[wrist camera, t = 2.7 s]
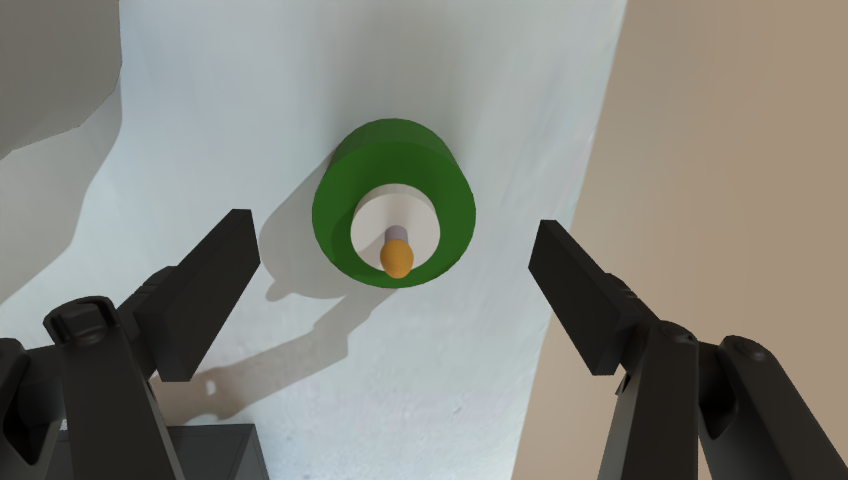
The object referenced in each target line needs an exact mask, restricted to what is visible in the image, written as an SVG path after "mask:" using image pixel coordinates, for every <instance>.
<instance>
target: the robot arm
mask: <svg viewBox="0 0 848 480" xmlns="http://www.w3.org/2000/svg"><path fill="white" fill-rule="evenodd" d="M260 263H261V262H260V256H259V251H258V245H257V240H256V234H255V229H254V224H253V218H252V213H251V210H249V209H232V210H231V211H230V212H229V213H228V214H227V215H226V216H225V217H224V218H223V219H222V220H221V221H220V222H219V223H218V224H217V225H216V226H215V227H214V228H213V229H212V230H211V231H210V232H209V233H208V235H207V236H206V237H205V238H204V239H203V240H202V241H201V242H200V243H199V244H198V245H197V246H196V247H195V248H194V249H193V250H192V251H191V252H190V253H189V254H188V255H187V256H186V257H185V258H184V259H183V260H182V261H181V262H180V263H179V264H178V265H177V266H167V267H165V268H163V269H162V270H160V271H158V272H156V273H154V274H153V275H152V276H151V277H149V278H148V279H147V280H146V281H145V282H144V283H143V286H140V287H139V288H138V289H137V290H136V291H135V293H134V294H132V295H131V296H130V297H129V298H128V299H127V300H126V301H124V302H123V303H122V304H121V305H120V306H119V307H118V308H117V309H115V307H114V305H113V303H112V301H111V300H110V299H109V298H108V297H104V296H88V297H83V298H79V299H75V300H73V301H70V302H67V303H65V304H62V305H61V306H59V307H57V308H55V309H54V310H52V311H51V312H50V313H49V314H48V315H47V316H46V317H45V318H44V321H43V325H44V327H45V328H46V330H47V332H48V333H49V335H50V337H51V338H52V340H53V341H54V343H55V345H50V346H45V347H40V348H35V349H29V350H25V349H24V347H23V346H22V344H21V343H20V342H19V341H18V340H16V339H14V338H0V480H45V477H46V473H47V470H48V467H49V463H50V460H51V457H52V453H53V450H54V447H55V443H56V440H57V436H58V433H59V430H60V426H61V423H62V420H63V419H66V420H67V428H68V435H69V443H70V451H71V459H72V467H73V475H74V480H185V478H184V475H183V472H182V469H181V467H180V464H179V461H178V458H177V456H176V453H175V450H174V447H173V445H172V442H171V439H170V436H169V434H168V431H167V428H166V425H165V423H164V420H163V417H162V414H161V412H160V409H159V406H158V403H157V401H156V398H155V395H154V392H153V390H152V387H151V385H150V383H149V378H150V377H151V376H152V374H153V373H154V371H155V370H156V369H157V371H158V373H159V375H160V378H161V380H162V382H188V381H190V379H191V378H192V376H193V374H194V373H195V371H196V369H197V368H198V366H199V364H200V363H201V361H202V359H203V358H204V356H205V354H206V353H207V351H208V349H209V348H210V346H211V344H212V343H213V341H214V339H215V338H216V336H217V334H218V333H219V331H220V330H221V328H222V326H223V325H224V323H225V321H226V320H227V318H228V316H229V315H230V313H231V311H232V310H233V308H234V306H235V305H236V303H237V301H238V300H239V298H240V296H241V295H242V293H243V291H244V290H245V288H246V286H247V285H248V283H249V281H250V280H251V278H252V276H253V275H254V273H255V271H256V270H257V268H258V267H259V265H260ZM528 269H529V271H530V272H531V274H532V276H533V277H534V279H535V280H536V282H537V284H538V285H539V287H540V289H541V290H542V292H543V294H544V295H545V297H546V299H547V300H548V302H549V304H550V305H551V307H552V309H553V310H554V312H555V314H556V315H557V317H558V319H559V320H560V322H561V324H562V325H563V327H564V329H565V330H566V332H567V334H568V335H569V337H570V339H571V340H572V342H573V344H574V345H575V347H576V349H577V350H578V352H579V353H580V355H581V357H582V358H583V360H584V362H585V363H586V365H587V367H588V368H589V370H590V372H591V373H592V375H594V376H597V375H614V373H615V371H616V369H617V367H618V365H619V363H621V365H622V366H623V368H624V369H625V370H626V374H625V376H624V378H623V379H622V381H621V383H620V385H619V387H618V389H617V391H616V393H615V394H616V395H618V399H617V404H616V407H615V412H614V416H613V419H612V423H611V427H610V431H609V435H608V439H607V443H606V447H605V451H604V455H603V459H602V463H601V467H600V470H599V474H598V479H597V480H698V435H699V439H700V442H701V445H702V448H703V451H704V454H705V458H706V461H707V464H708V467H709V471H710V474H711V477H712V480H848V468H847V466H846V465H845V463H844V462H843V460H842V459H841V457H840V455H839V454H838V453H837V451H836V449H835V448H834V446H833V445H832V443H831V442H830V440H829V439H828V437H827V436H826V434H825V432H824V431H823V429H822V428H821V427H820V425H819V423H818V422H817V420H816V419H815V417H814V416H813V414H812V413H811V411H810V409H809V408H808V406H807V405H806V403H805V402H804V400H803V399H802V397H801V396H800V394H799V393H798V391H797V390H796V388H795V386H794V385H793V383H792V382H791V380H790V379H789V377H788V376H787V374H786V373H785V371H784V370H783V368H782V367H781V365H780V364H779V362H778V360H777V359H776V358H775V356H774V355H773V354H772V353H771V352H770V351H768V350H767V349H766V348H764V347H763V346H762V345H760V344H759V343H756V342H755V341H753V340H750V339H747V338H744V337H740V336H735V335H731V336H726V337H725V338H724V339H723V341H722V342H721V344H720V345H719V346H718V345H714V344H709V343H705V342H700V341H698V340H697V338H696V337H695V336H694V335H693V334H692V333H691V332H690V331H688V330H687V329H685V328H684V327H682V326H680V325H678V324H676V323H673V322H669V321H663V320H660V319H659V318H658V317H657V316H656V315H655V314H654V313H653V312H652V311H651V310H650V309H649V308H648V307H647V306H646V305H645V304H644V303H643V302H642V301H641V300H640V299H639V298H637V295H636V294H635V293H634V292H633V291H631V289H630V288H629V287H628V286H627V285H626V284H625V283H624V282H623V281H622V280H620V279H619V278H617V277H616V276H614V275H612V274H611V273H605V272H604V271H603V270H602V269H601V268H600V267H599V266H598V265H597V264H596V263H595V261H594V260H593V259H592V258H591V257H590V256H589V255H588V254H587V253H586V252H585V251H584V250H583V249H582V247H580V245H579V244H578V243H577V242H576V241H575V240H574V239H573V238H572V237H571V236H570V235H569V233H568V232H567V231H566V230H565V229H564V228H563V227H562V226H561V225H560V224H559V223H558V222H557V220H541V221H540V225H539V228H538V232H537V236H536V240H535V243H534V247H533V251H532V255H531V258H530V262H529V266H528Z"/></svg>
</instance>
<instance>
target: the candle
mask: <svg viewBox="0 0 848 480" xmlns="http://www.w3.org/2000/svg"><path fill="white" fill-rule="evenodd" d="M475 220H476V208H475V203H474V197H473V194H472V192H471V189H470V187H469V185H468V182H467V180H466V178H465V177H464V175H463V173H462V171H461V170H460V168H459V166H458V164H457V163H456V161H455V159H454V157H453V156H452V154H451V152H450V150H449V149H448V148H447V146H446V145H445V143H444V142H443V141H442V140H441V139H440V138H439V137H438V136H437V135H436V134H435V133H434V132H432V131H431V130H429V129H427V128H426V127H424V126H422V125H420V124H418V123H415V122H412V121H409V120H403V119H395V118H394V119H381V120H377V121H373V122H370V123H367V124H365V125H363V126H361V127H359V128H357V129H356V130H354V131H353V132H352V133H351V134H350V135H348V136H347V137H346V138H345V139H344V140H343V142H342V143H341V144H340V146H339V147H338V148H337V150H336V152H335V154H334V156H333V158H332V160H331V162H330V164H329V166H328V168H327V170H326V172H325V174H324V176H323V178H322V180H321V183H320V185H319V187H318V189H317V191H316V193H315V197H314V202H313V207H312V224H313V228H314V232H315V237H316V239H317V241H318V243H319V245H320V247H321V249H322V251H323V252H324V254H325V255H326V256H327V258H328V259H329V260H330V262H331V263H333V264H334V265H335V266H336V267H337V268H338V269H339V270H340V271H341V272H343V273H345V274H346V275H348V276H349V277H351V278H353V279H355V280H357V281H360V282H362V283H365V284H367V285H372V286H376V287H381V288H406V287H412V286H416V285H420V284H423V283H426V282H428V281H430V280H433V279H435V278H437V277H438V276H440V275H441V274H443V273H444V272H446V271H448V270H449V269H450V268H451V267H452V266H453V265H454V264H455V263H456V262H457V261H458V260H459V259H460V257H461V256H462V255H463V253H464V252H465V251H466V249H467V247H468V245H469V243H470V241H471V238H472V236H473V231H474V227H475Z"/></svg>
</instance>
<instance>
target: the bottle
mask: <svg viewBox="0 0 848 480" xmlns="http://www.w3.org/2000/svg"><path fill="white" fill-rule="evenodd" d="M121 66H122V54H121V40H120V23H119V0H0V160H1V159H3V158H4V157H5V156H6V155H7V154H9V153H10V152H11V151H12V150H15V149H18V148H20V147H23V146H26V145H29V144H31V143H34V142H37V141H40V140H42V139H45V138H48V137H51V136H53V135H56V134H59V133H62V132H64V131H67V130H70V129H73V128H75V127H78V126H80V125H81V124H82V123H83V122H84V121H85V120H86V119H87V118H88V117H89V116H90V115H91V114H92V113H93V112H94V111H95V110H96V109H97V108H98V107H99V106H100V105H101V104H102V103H103V101H104V100H105V99H106V98H107V97H108V96H109V95H110V94H111V93H112V92H113V91H114V88H115V85H116V82H117V78H118V75H119V72H120V69H121Z"/></svg>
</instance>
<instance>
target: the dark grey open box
mask: <svg viewBox="0 0 848 480" xmlns="http://www.w3.org/2000/svg"><path fill="white" fill-rule="evenodd" d="M166 428H167V431H168V434H169V436H170V439H171V442H172V445H173V447H174V450H175V453H176V456H177V458H178V461H179V464H180V467H181V469H182V472H183V475H184V478H185V480H269V477H268V474H267V470H266V466H265V462H264V458H263V455H262V451H261V447H260V443H259V440H258V436H257V432H256V428H255V425H254V424H240V425H211V426H183V427H166ZM45 480H74V475H73V467H72V459H71V451H70V443H69V435H68V431H59V433H58V436H57V440H56V443H55V447H54V450H53V453H52V457H51V460H50V463H49V467H48V470H47V473H46V477H45Z"/></svg>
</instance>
